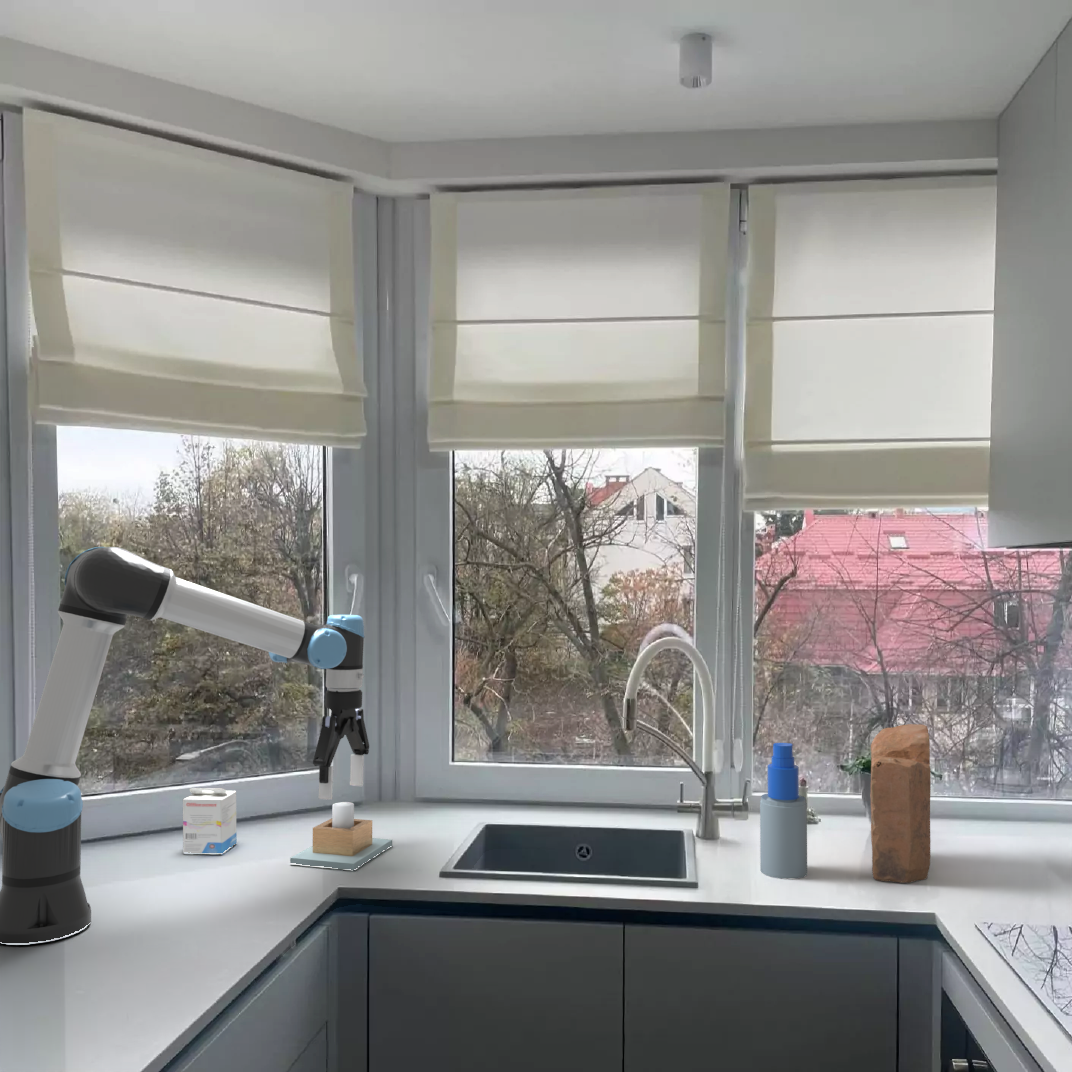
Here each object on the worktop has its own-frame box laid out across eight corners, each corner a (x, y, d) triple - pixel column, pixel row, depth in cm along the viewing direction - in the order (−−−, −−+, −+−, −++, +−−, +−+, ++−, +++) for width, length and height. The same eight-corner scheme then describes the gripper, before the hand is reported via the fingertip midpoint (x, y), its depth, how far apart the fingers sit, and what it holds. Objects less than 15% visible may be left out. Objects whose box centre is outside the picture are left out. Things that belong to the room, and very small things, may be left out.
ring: (352, 856, 200) (352, 831, 200) (312, 852, 202) (312, 827, 203) (372, 844, 209) (372, 820, 209) (333, 840, 211) (333, 817, 211)
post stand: (353, 871, 195) (353, 817, 195) (290, 865, 199) (290, 812, 199) (392, 846, 212) (392, 797, 212) (333, 841, 216) (333, 792, 216)
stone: (935, 888, 184) (933, 735, 186) (871, 882, 188) (869, 732, 190) (928, 860, 205) (926, 722, 207) (870, 855, 208) (869, 720, 210)
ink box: (237, 844, 214) (238, 782, 214) (221, 856, 205) (222, 790, 206) (199, 843, 214) (199, 781, 215) (181, 855, 206) (182, 790, 207)
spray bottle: (805, 866, 198) (804, 740, 199) (808, 880, 190) (807, 748, 190) (760, 863, 200) (759, 739, 201) (761, 877, 191) (760, 747, 192)
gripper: (331, 696, 194) (328, 806, 193) (386, 684, 217) (383, 781, 217) (297, 694, 196) (294, 803, 195) (355, 682, 220) (352, 779, 219)
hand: (341, 792), depth 206 cm, fingers open, 13 cm apart
